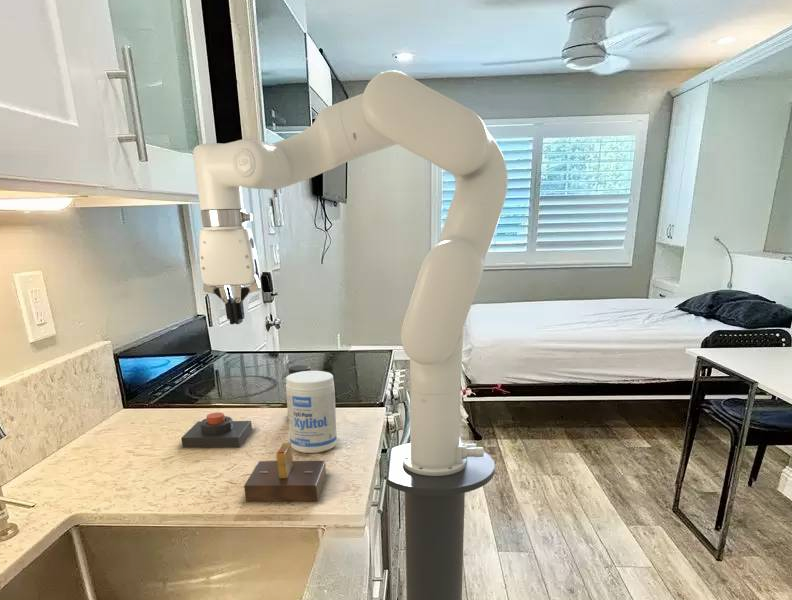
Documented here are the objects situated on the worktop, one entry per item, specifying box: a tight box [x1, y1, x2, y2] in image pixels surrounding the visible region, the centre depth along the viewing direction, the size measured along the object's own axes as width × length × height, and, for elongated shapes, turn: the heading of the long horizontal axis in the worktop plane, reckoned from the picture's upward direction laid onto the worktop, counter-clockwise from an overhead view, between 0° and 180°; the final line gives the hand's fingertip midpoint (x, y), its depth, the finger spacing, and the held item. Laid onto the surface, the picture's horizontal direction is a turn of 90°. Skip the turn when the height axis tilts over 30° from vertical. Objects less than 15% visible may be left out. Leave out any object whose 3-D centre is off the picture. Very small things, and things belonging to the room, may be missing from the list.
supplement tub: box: [285, 370, 338, 454], centre depth 114 cm, size 10×10×15 cm
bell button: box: [206, 412, 225, 425], centre depth 121 cm, size 4×4×2 cm
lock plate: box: [243, 460, 327, 503], centre depth 99 cm, size 12×10×3 cm
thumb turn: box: [276, 442, 294, 478], centre depth 97 cm, size 5×1×5 cm, turn 177°
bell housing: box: [180, 415, 253, 449], centre depth 122 cm, size 12×10×4 cm
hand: (236, 322), depth 110 cm, fingers closed
